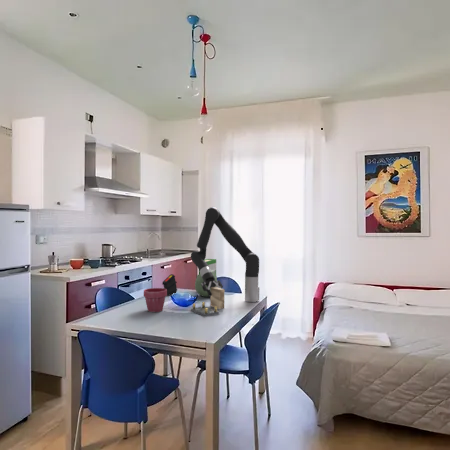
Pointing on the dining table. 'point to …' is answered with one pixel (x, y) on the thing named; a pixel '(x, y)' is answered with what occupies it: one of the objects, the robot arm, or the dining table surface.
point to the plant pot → (155, 299)
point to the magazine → (170, 285)
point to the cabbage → (199, 286)
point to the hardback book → (211, 264)
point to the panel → (217, 297)
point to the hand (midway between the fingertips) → (216, 294)
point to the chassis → (204, 310)
